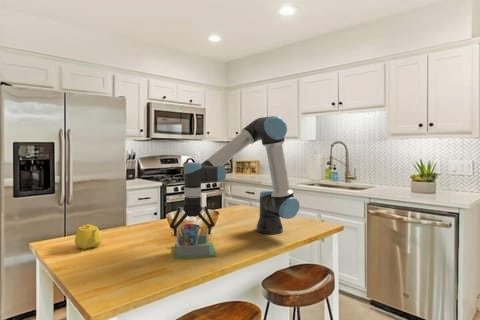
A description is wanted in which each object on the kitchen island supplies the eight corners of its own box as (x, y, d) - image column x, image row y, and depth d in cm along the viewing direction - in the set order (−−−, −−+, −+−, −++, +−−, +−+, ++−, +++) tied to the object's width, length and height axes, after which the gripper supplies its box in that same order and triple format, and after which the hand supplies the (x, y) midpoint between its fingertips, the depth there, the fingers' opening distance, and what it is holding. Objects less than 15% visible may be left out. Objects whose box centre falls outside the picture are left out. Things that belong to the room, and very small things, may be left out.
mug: (187, 254, 142) (187, 230, 142) (175, 248, 149) (175, 226, 148) (208, 248, 150) (208, 225, 150) (197, 243, 157) (197, 221, 157)
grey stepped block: (212, 243, 160) (212, 233, 160) (216, 256, 142) (216, 245, 142) (174, 245, 157) (174, 235, 156) (174, 258, 139) (174, 247, 139)
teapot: (107, 249, 150) (107, 226, 149) (82, 255, 143) (81, 231, 142) (94, 240, 163) (94, 219, 163) (70, 245, 156) (70, 223, 155)
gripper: (218, 194, 154) (218, 238, 155) (164, 195, 149) (165, 240, 150) (220, 197, 146) (220, 243, 148) (164, 198, 142) (164, 245, 143)
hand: (192, 242), depth 149 cm, fingers open, 13 cm apart
